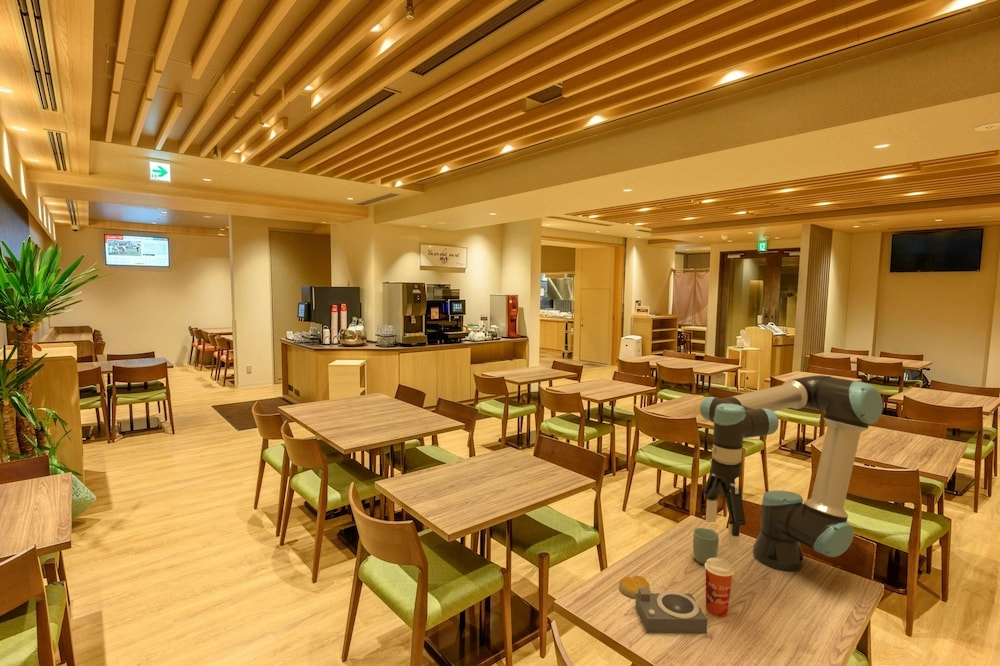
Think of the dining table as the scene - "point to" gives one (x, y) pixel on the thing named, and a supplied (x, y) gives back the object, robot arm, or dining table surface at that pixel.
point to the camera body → (670, 612)
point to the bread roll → (633, 585)
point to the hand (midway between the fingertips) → (721, 533)
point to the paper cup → (718, 585)
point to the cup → (705, 544)
